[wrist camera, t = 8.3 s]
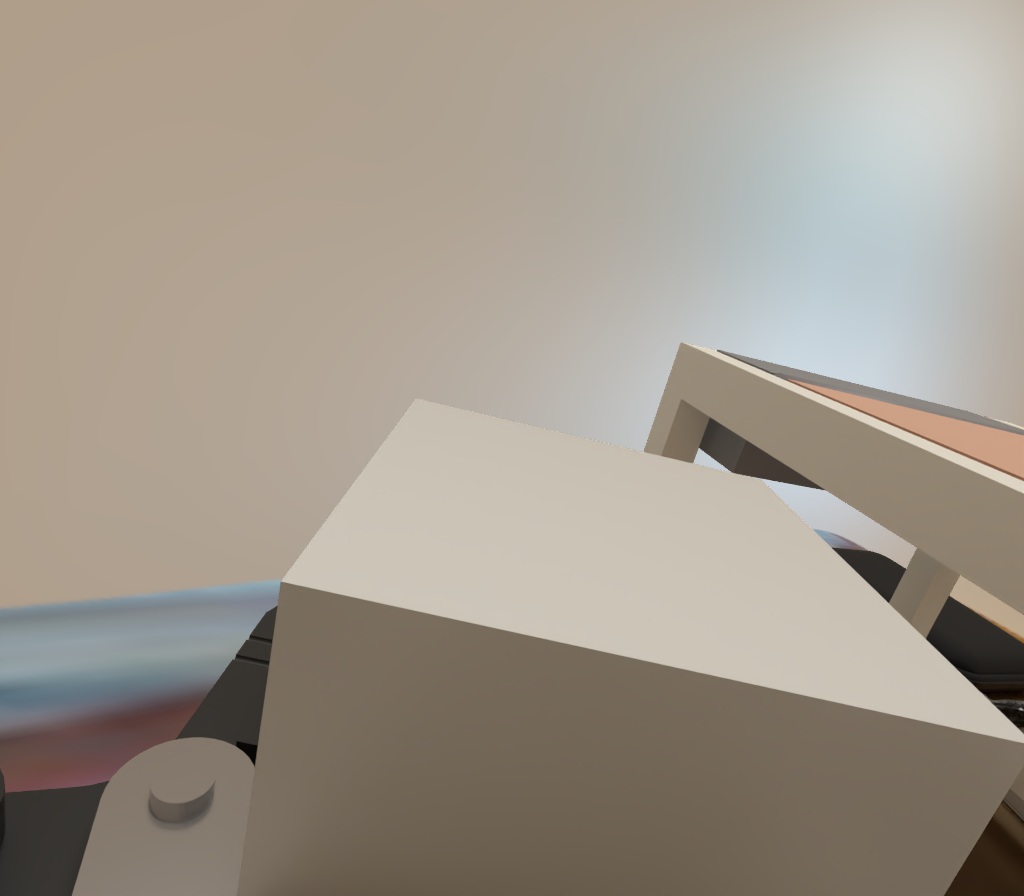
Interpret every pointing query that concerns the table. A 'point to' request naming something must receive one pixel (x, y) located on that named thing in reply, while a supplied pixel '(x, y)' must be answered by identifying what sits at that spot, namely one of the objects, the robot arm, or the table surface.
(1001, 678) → the carrying case or bag
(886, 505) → the trapdoor stand
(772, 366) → the trapdoor
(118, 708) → the table surface
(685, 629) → the plain beige rectangular block
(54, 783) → the table surface
